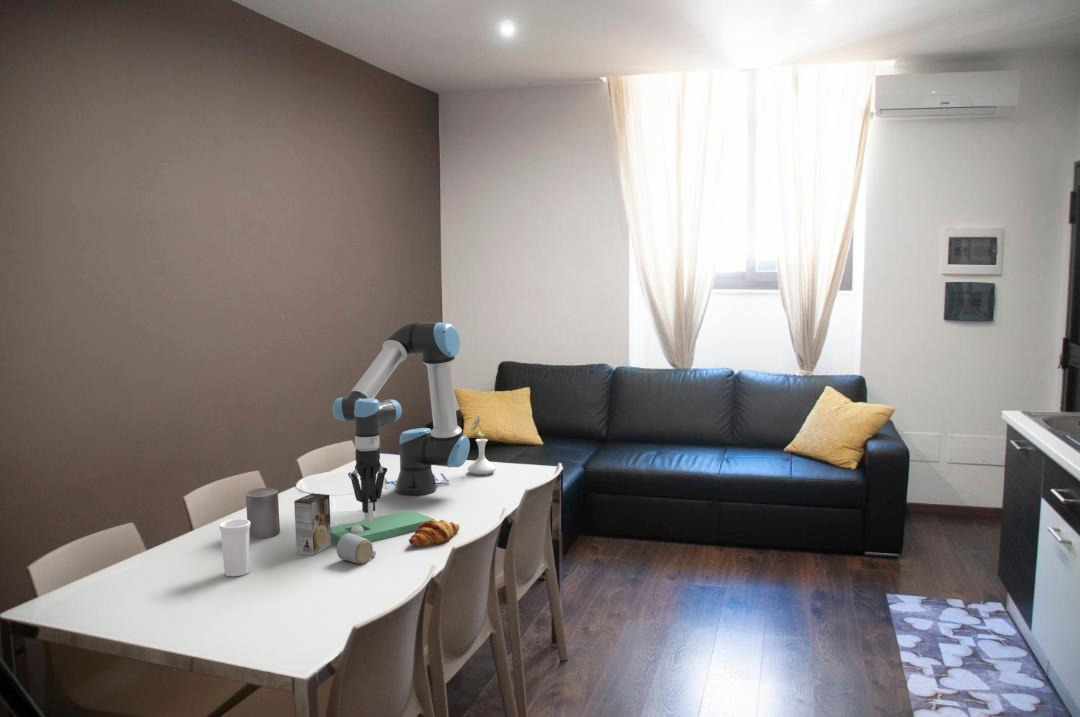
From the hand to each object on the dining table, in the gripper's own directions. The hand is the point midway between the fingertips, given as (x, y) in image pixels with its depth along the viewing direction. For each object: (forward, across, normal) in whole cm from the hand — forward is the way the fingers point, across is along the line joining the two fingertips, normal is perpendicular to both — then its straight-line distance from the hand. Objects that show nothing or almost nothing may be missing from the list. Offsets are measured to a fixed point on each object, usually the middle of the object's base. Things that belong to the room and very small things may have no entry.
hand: (369, 521), depth 269 cm
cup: (+4, -45, -6) cm, 46 cm away
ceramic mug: (+4, -14, -18) cm, 24 cm away
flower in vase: (+4, +74, +38) cm, 83 cm away
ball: (+2, -4, 0) cm, 5 cm away
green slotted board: (+4, +4, 0) cm, 6 cm away
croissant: (+4, +13, -18) cm, 23 cm away
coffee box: (+4, -20, -2) cm, 21 cm away
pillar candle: (+4, -25, +22) cm, 34 cm away
